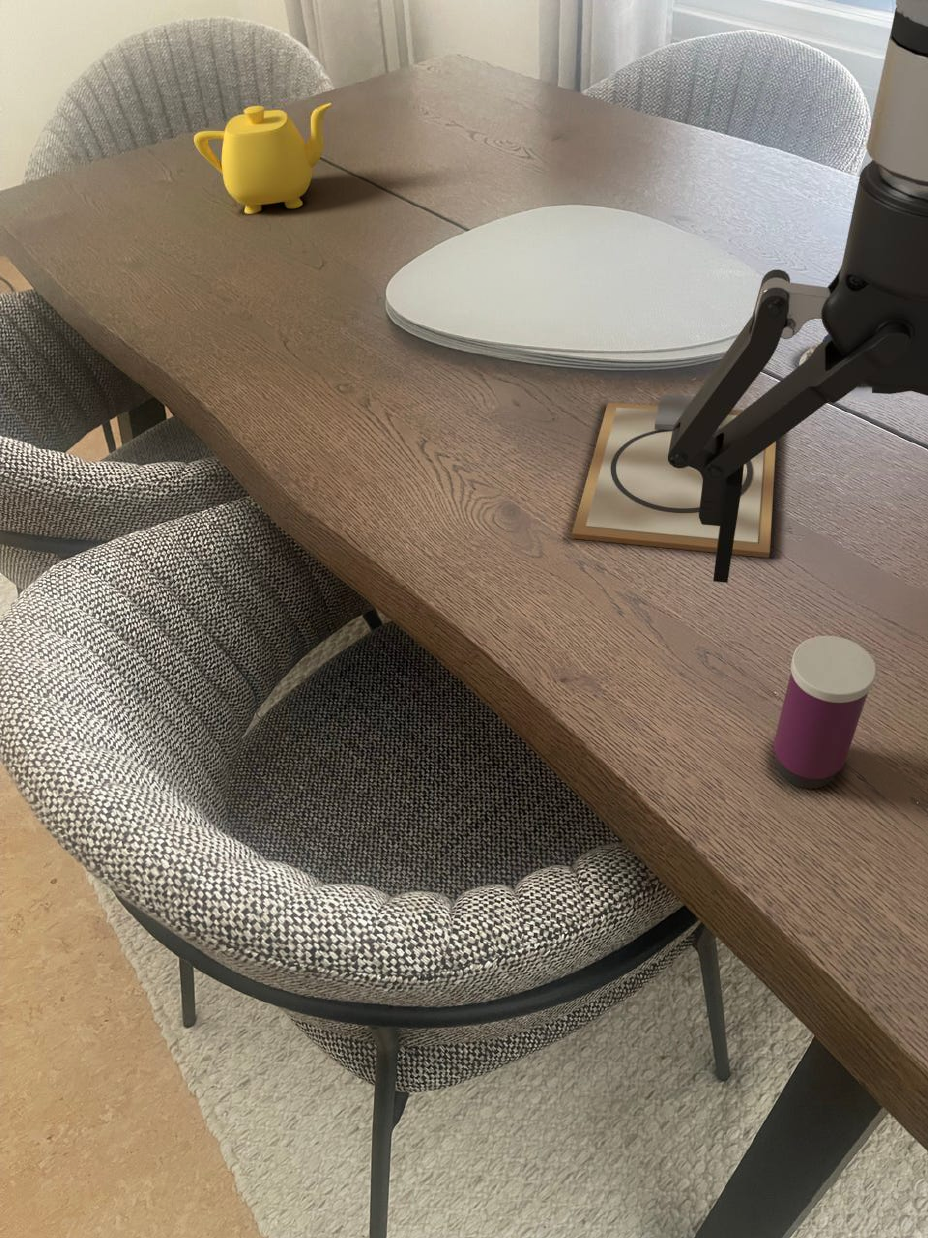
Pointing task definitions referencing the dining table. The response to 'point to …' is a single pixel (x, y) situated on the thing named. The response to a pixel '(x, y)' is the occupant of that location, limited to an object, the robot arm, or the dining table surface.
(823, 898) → the dining table surface
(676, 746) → the dining table surface
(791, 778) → the cylinder
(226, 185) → the teapot
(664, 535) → the sketch board
